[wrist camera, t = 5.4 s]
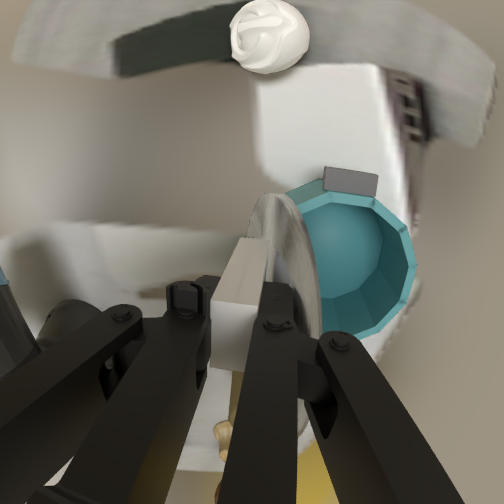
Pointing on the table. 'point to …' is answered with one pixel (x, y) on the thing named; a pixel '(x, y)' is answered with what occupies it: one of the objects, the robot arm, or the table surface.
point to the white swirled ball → (268, 36)
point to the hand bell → (222, 444)
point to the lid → (290, 264)
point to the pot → (356, 251)
